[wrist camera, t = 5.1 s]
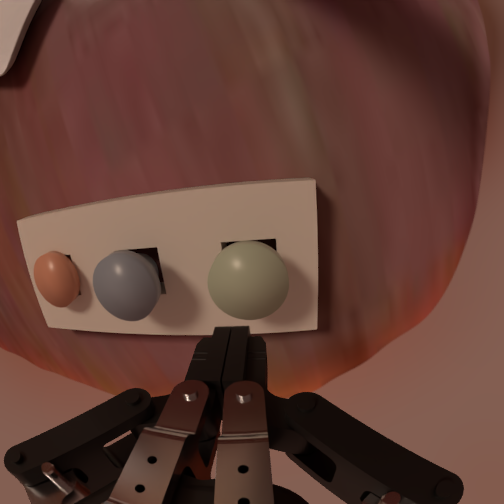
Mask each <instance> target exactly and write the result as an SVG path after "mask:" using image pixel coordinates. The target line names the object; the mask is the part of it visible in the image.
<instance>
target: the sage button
mask: <svg viewBox="0 0 504 504" xmlns="http://www.w3.org/2000/svg"><path fill="white" fill-rule="evenodd" d="M207 283H208V290H209V293H210V296H211V298H212V300H213V302H214V303H215V304H216V305H217V307H218V308H219V309H221V310H222V311H223V312H224V313H226V314H228V315H230V316H232V317H234V318H238V319H242V320H257V319H261V318H264V317H267V316H269V315H271V314H272V313H274V312H275V311H276V310H278V309H279V308H280V307H281V305H282V304H283V303H284V301H285V299H286V297H287V294H288V290H289V278H288V272H287V268H286V265H285V262H284V260H283V259H282V257H281V256H280V255H279V253H278V252H277V251H275V250H274V249H273V248H272V247H270V246H268V245H266V244H264V243H261V242H257V241H251V240H250V241H239V242H235V243H233V244H231V245H229V246H227V247H225V248H224V249H223V250H222V251H221V252H220V253H219V254H218V255H217V257H216V258H215V260H214V262H213V264H212V266H211V268H210V271H209V274H208V282H207Z"/></svg>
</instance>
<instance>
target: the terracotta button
mask: <svg viewBox="0 0 504 504" xmlns="http://www.w3.org/2000/svg"><path fill="white" fill-rule="evenodd" d="M34 279H35V283H36V286H37V288H38V290H39V292H40V293H41V295H42V296H43V297H44V298H45V300H46V301H48V302H49V303H50V304H52V305H53V306H56V307H60V308H63V307H66V306H68V305H69V304H70V303H71V302H72V301H74V300H75V299H76V298H77V296H78V294H79V291H80V280H79V276H78V273H77V271H76V269H75V267H74V265H73V263H72V260H71V256H70V255H64V254H62V253H61V252H58V251H49V252H47V253H46V254H44V255H42V256H40V257H39V258H38V259H37V260H36V262H35V265H34Z"/></svg>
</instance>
